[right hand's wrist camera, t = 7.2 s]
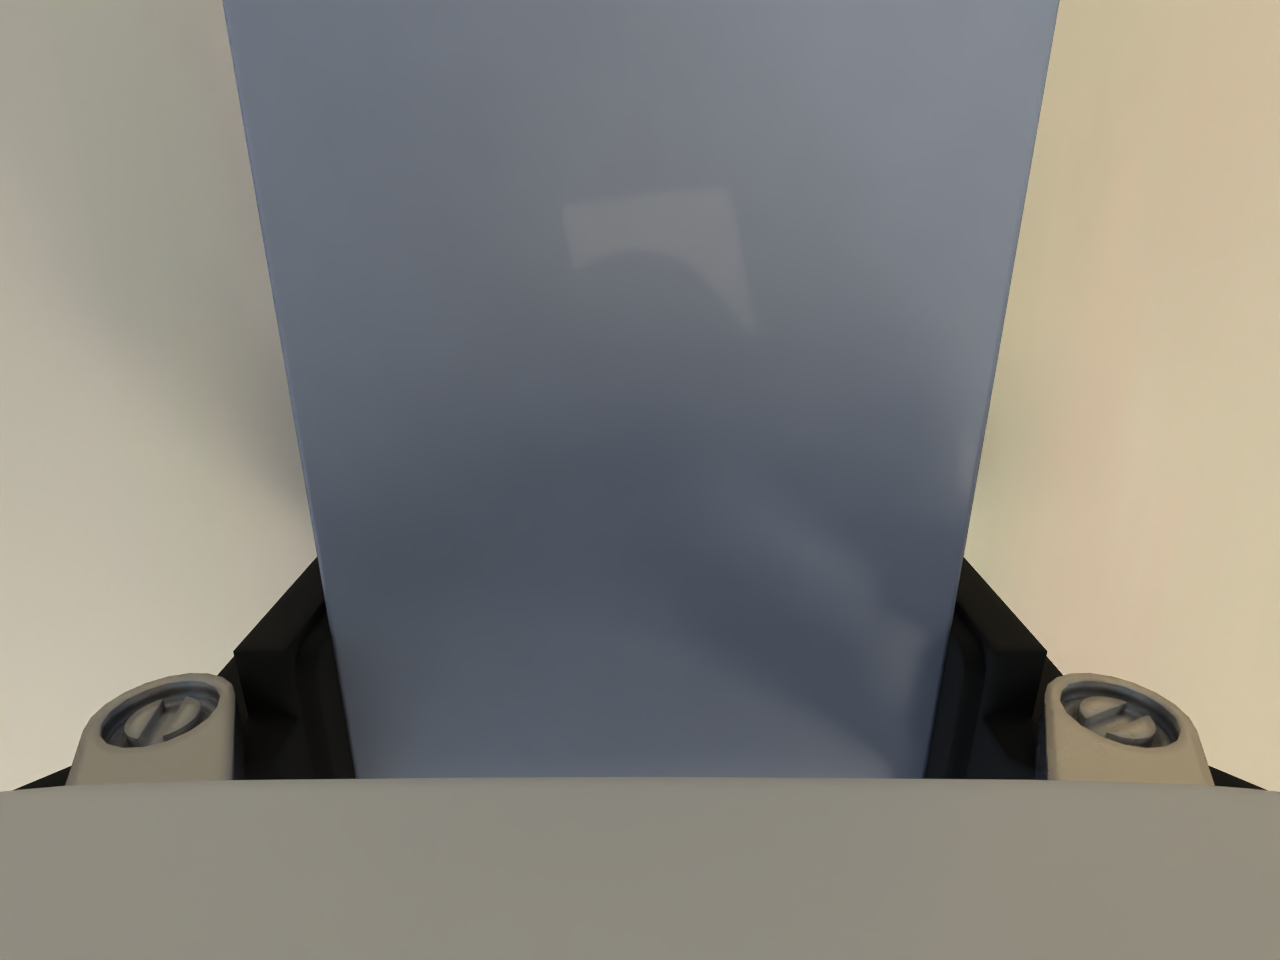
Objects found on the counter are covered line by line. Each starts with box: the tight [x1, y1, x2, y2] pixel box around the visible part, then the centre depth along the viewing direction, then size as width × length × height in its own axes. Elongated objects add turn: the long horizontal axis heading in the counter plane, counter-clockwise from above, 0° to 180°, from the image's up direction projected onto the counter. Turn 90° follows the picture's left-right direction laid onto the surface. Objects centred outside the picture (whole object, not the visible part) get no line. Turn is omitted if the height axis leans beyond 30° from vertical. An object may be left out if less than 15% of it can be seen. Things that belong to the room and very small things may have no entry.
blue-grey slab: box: [222, 0, 1059, 779], centre depth 11 cm, size 16×7×8 cm, turn 0°
